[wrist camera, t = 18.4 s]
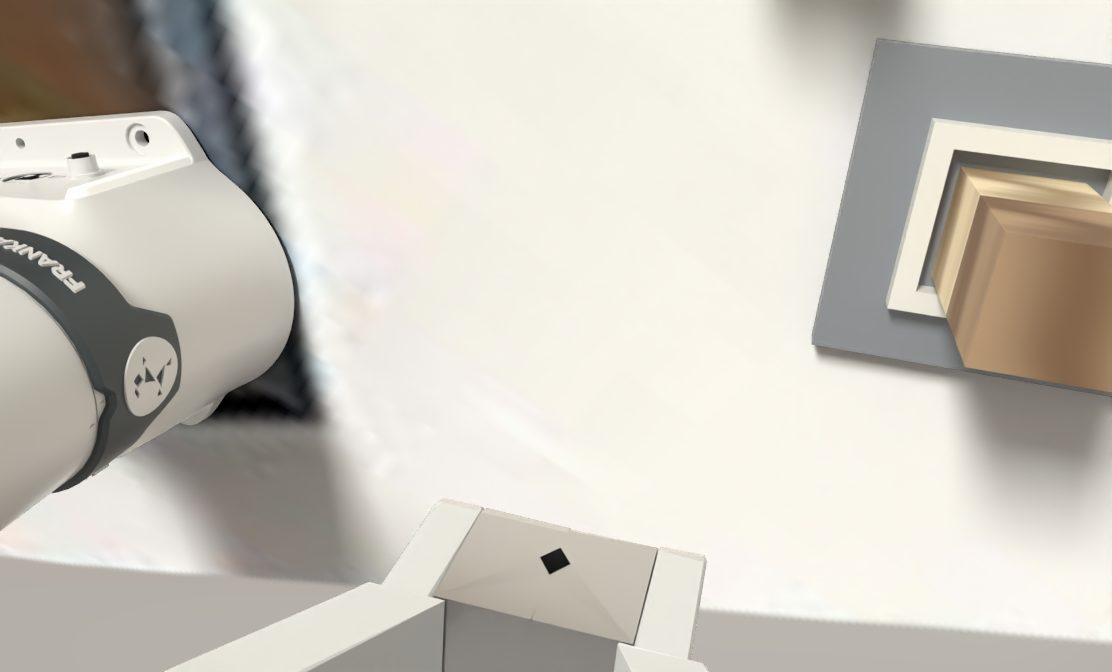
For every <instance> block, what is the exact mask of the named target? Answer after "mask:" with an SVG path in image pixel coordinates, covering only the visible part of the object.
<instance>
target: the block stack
mask: <svg viewBox="0 0 1112 672" xmlns="http://www.w3.org/2000/svg"><path fill="white" fill-rule="evenodd" d="M931 277H932V279H933V282H934V285H935V287H936V290H937V293H938V296H939V298H940V301H941V304H942V306H943V309H944V312H945V314H946V317H947V320H948V323H949V325H950V328H951V331H952V333H953V336H954V339H955V341H956V344H957V347H958V350H959V352H960V355H961V358H962V360H963V363H964V366H965V367H968V368H974V369H979V370H985V371H991V372H997V373H1002V374H1008V375H1014V376H1020V377H1025V378H1031V379H1037V380H1043V381H1049V382H1054V383H1060V384H1066V385H1072V386H1077V387H1083V388H1089V389H1095V390H1101V391H1106V392H1112V205H1111V204H1110V203H1108V202H1107V201H1106V200H1105V199H1104V198H1103V197H1102V196H1100V195H1099V194H1098V193H1097V192H1096V191H1095V190H1094V189H1092V188H1091V187H1090V186H1089V185H1088V184H1087V183H1083V182H1076V181H1068V180H1061V179H1053V178H1046V177H1039V176H1031V175H1024V174H1016V173H1009V172H1001V171H994V170H986V169H979V168H971V167H964V166H960V170H959V173H958V177H957V181H956V184H955V188H954V192H953V195H952V199H951V203H950V206H949V210H948V214H947V217H946V221H945V225H944V228H943V232H942V236H941V239H940V243H939V247H938V251H937V254H936V258H935V262H934V265H933V269H932V273H931Z"/></svg>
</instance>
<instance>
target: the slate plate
mask: <svg viewBox="0 0 1112 672" xmlns="http://www.w3.org/2000/svg"><path fill="white" fill-rule="evenodd" d="M960 166H964V167H971V168H979V169H986V170H994V171H1001V172H1009V173H1016V174H1024V175H1031V176H1039V177H1046V178H1053V179H1061V180H1068V181H1076V182H1083V183H1087V184H1088V185H1089V186H1090V187H1091V188H1092V189H1094V190H1095V191H1096V192H1097V193H1098V194H1099V195H1100V196H1102V197H1103V198H1104V199H1105V200H1106V201H1107V202H1108V203H1110V204H1111V205H1112V65H1109V64H1100V63H1091V62H1082V61H1073V60H1064V59H1055V58H1046V57H1037V56H1028V55H1019V54H1010V53H1001V52H992V51H983V50H974V49H965V48H956V47H947V46H938V45H929V44H920V43H911V42H902V41H893V40H884V39H877V41H876V46H875V50H874V55H873V59H872V64H871V68H870V73H869V77H868V82H867V86H866V91H865V95H864V100H863V105H862V109H861V114H860V118H859V123H858V127H857V132H856V136H855V141H854V145H853V150H852V154H851V159H850V164H849V168H848V173H847V177H846V182H845V186H844V191H843V195H842V200H841V204H840V209H839V213H838V218H837V223H836V227H835V232H834V236H833V241H832V245H831V250H830V254H829V259H828V263H827V268H826V272H825V277H824V281H823V286H822V291H821V295H820V300H819V304H818V309H817V313H816V318H815V322H814V327H813V331H812V345H817V346H823V347H829V348H835V349H840V350H846V351H852V352H857V353H863V354H869V355H875V356H880V357H886V358H892V359H898V360H903V361H909V362H915V363H921V364H926V365H932V366H938V367H944V368H949V369H955V370H961V371H967V372H972V373H978V374H984V375H989V376H995V377H1001V378H1007V379H1012V380H1018V381H1024V382H1030V383H1035V384H1041V385H1047V386H1053V387H1058V388H1064V389H1070V390H1076V391H1081V392H1087V393H1093V394H1099V395H1104V396H1110V397H1112V392H1106V391H1101V390H1095V389H1089V388H1083V387H1077V386H1072V385H1066V384H1060V383H1054V382H1049V381H1043V380H1037V379H1031V378H1025V377H1020V376H1014V375H1008V374H1002V373H997V372H991V371H985V370H979V369H974V368H968V367H965V366H964V363H963V360H962V358H961V355H960V352H959V350H958V347H957V344H956V341H955V339H954V336H953V333H952V331H951V328H950V325H949V323H948V320H947V317H946V314H945V312H944V309H943V306H942V304H941V301H940V298H939V296H938V293H937V290H936V287H935V285H934V282H933V279H932V277H931V273H932V269H933V265H934V262H935V258H936V254H937V251H938V247H939V243H940V239H941V236H942V232H943V228H944V225H945V221H946V217H947V214H948V210H949V206H950V203H951V199H952V195H953V192H954V188H955V184H956V181H957V177H958V173H959V170H960Z"/></svg>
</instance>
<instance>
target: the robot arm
mask: <svg viewBox="0 0 1112 672" xmlns="http://www.w3.org/2000/svg"><path fill="white" fill-rule="evenodd" d="M144 132H146V133H147V135H148V137H149V143H148V142H147V141H146V139H145V138H144ZM293 315H294V291H293V283H292V278H291V273H290V269H289V265H288V262H287V259H286V256H285V253H284V251H283V249H282V246H281V244H280V242H279V240H278V238H277V236H276V234H275V232H274V230H273V229H272V227H271V225H270V224H269V222H268V221H267V219H266V218H265V216H264V215H263V214H262V212H261V211H260V210H259V208H258V207H257V206H256V205H255V204H254V202H253V201H252V200H251V199H250V198H249V197H248V196H247V195H246V194H245V193H244V192H243V191H242V190H241V189H240V188H239V187H238V186H237V185H235V184H234V183H233V182H232V181H231V180H229V179H228V178H227V177H226V176H225V175H224V174H222V173H221V172H220V171H219V170H218V169H217V168H216V167H215V166H214V165H213V164H212V163H211V162H210V161H209V160H208V158H207V157H206V155H205V153H204V151H203V150H202V148H201V146H200V145H199V143H198V142H197V140H196V138H195V137H194V135H193V134H192V132H191V131H190V129H189V128H188V127H187V125H186V124H185V123H184V122H183V121H182V120H181V119H180V118H179V117H178V116H177V115H175V114H174V113H171V112H168V111H153V112H140V113H128V114H115V115H102V116H89V117H77V118H64V119H51V120H39V121H26V122H13V123H1V124H0V531H2V530H3V529H4V528H5V527H7V526H8V525H9V524H11V523H12V522H13V521H15V520H16V519H17V518H19V517H20V516H21V515H22V514H24V513H25V512H26V511H28V510H29V509H30V508H32V507H33V506H34V505H36V504H37V503H38V502H40V501H41V500H42V499H44V498H45V497H46V496H48V495H49V494H50V493H55V492H60V491H63V490H66V489H69V488H71V487H73V486H75V485H77V484H79V483H80V482H82V481H83V480H85V479H87V478H88V477H89V476H91V475H92V476H94V475H96V474H97V473H99V472H100V471H102V470H103V469H105V468H106V467H108V466H109V463H110V462H111V461H112V460H114V459H115V458H119V457H122V456H124V455H126V454H127V453H129V452H131V451H133V450H134V449H136V448H138V447H140V446H141V445H143V444H145V443H146V442H148V441H150V440H152V439H153V438H155V437H157V436H158V435H160V434H162V433H163V432H165V431H167V430H168V429H170V428H172V427H173V426H175V425H177V424H178V423H182V424H186V425H195V424H197V423H199V422H201V421H202V420H204V419H206V418H207V417H209V416H210V415H211V414H212V413H213V412H214V411H215V409H216V408H217V407H218V405H219V404H220V402H221V401H222V399H223V398H224V396H225V395H226V394H227V393H228V392H230V391H232V390H234V389H236V388H238V387H240V386H242V385H244V384H246V383H248V382H250V381H252V380H254V379H256V378H257V377H259V376H260V375H262V374H263V373H264V372H265V371H267V370H268V369H269V368H270V367H271V366H272V365H273V364H274V362H275V361H276V360H277V358H278V357H279V355H280V354H281V352H282V351H283V349H284V347H285V345H286V342H287V340H288V337H289V334H290V331H291V327H292V322H293ZM706 563H707V561H706V558H705V556H704V555H699V554H694V553H689V552H683V551H678V550H673V549H668V548H662V547H660V549H658V548H655V547H650V546H646V545H641V544H636V543H632V542H627V541H622V540H618V539H613V538H608V537H604V536H599V535H594V534H590V533H585V532H580V531H576V530H571V529H570V528H566V527H562V526H558V525H554V524H550V523H546V522H542V521H538V520H534V519H530V518H525V517H521V516H517V515H513V514H509V513H505V512H501V511H497V510H493V509H489V508H486V509H484V508H483V507H480V506H475V505H471V504H466V503H462V502H458V501H453V500H449V499H442V500H440V501H439V502H437V503H436V504H435V505H434V506H433V508H432V509H431V511H430V512H429V514H428V515H427V517H426V518H425V520H424V521H423V523H422V524H421V526H420V527H419V529H418V530H417V532H416V533H415V535H414V536H413V538H412V539H411V541H410V542H409V544H408V545H407V547H406V548H405V549H404V551H403V552H402V554H401V555H400V557H399V558H398V560H397V561H396V563H395V564H394V566H393V567H392V569H391V570H390V572H389V573H388V575H387V576H386V578H385V579H384V581H383V582H382V584H381V585H380V584H375V583H371V582H367V583H365V584H363V585H360V586H358V587H356V588H353V589H351V590H349V591H347V592H344V593H342V594H340V595H338V596H335V597H333V598H331V599H328V600H326V601H324V602H321V603H319V604H317V605H315V606H312V607H310V608H308V609H306V610H303V611H301V612H299V613H297V614H294V615H292V616H289V617H288V618H285V619H283V620H281V621H278V622H276V623H273V624H271V625H269V626H267V627H264V628H262V629H260V630H257V631H255V632H253V633H251V634H249V635H246V636H244V637H242V638H239V639H237V640H235V641H232V642H230V643H228V644H226V645H223V646H221V647H219V648H216V649H214V650H212V651H210V652H207V653H205V654H203V655H200V656H198V657H196V658H194V659H191V660H189V661H187V662H184V663H182V664H180V665H178V666H175V667H173V668H171V669H169V670H166V671H164V672H709V670H708V668H707V667H706V665H705V664H703V663H699V662H695V661H692V660H691V655H692V649H693V643H694V636H695V631H696V624H697V618H698V612H699V606H700V600H701V594H702V588H703V581H704V575H705V569H706Z"/></svg>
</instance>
